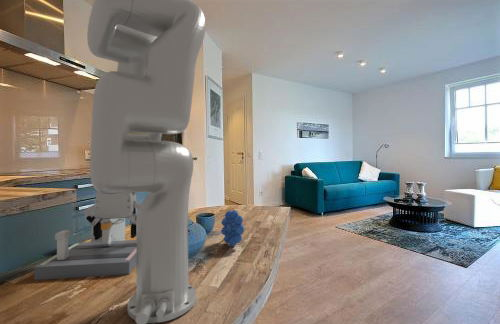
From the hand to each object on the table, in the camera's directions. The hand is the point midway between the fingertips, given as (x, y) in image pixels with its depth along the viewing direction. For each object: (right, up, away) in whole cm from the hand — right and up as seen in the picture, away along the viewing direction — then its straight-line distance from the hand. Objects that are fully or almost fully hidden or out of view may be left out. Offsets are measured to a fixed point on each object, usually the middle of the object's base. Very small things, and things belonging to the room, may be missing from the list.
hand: (116, 237), depth 70 cm
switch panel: (-2, -5, -4) cm, 7 cm away
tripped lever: (-3, -2, 0) cm, 3 cm away
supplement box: (-9, -6, +11) cm, 15 cm away
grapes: (+34, -6, +9) cm, 35 cm away
